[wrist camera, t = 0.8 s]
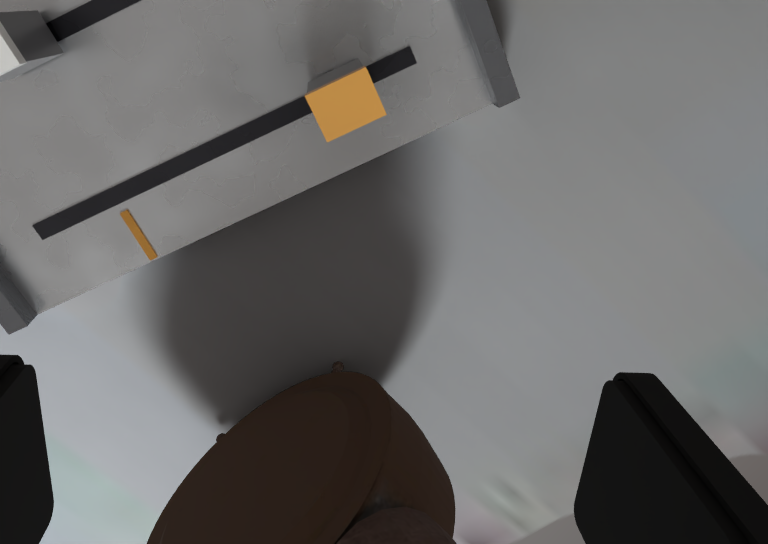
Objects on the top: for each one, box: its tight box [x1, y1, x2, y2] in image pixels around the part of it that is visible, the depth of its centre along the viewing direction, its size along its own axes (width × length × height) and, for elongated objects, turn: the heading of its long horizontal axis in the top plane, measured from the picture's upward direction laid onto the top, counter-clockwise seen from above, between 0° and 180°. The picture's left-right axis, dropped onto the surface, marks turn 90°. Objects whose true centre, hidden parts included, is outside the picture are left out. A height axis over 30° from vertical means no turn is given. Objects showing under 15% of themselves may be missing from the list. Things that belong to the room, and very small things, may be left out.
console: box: [0, 0, 520, 334], centre depth 29 cm, size 26×14×3 cm, turn 114°
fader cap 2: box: [305, 58, 387, 142], centre depth 27 cm, size 2×2×5 cm
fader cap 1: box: [0, 10, 64, 82], centre depth 25 cm, size 2×2×5 cm
